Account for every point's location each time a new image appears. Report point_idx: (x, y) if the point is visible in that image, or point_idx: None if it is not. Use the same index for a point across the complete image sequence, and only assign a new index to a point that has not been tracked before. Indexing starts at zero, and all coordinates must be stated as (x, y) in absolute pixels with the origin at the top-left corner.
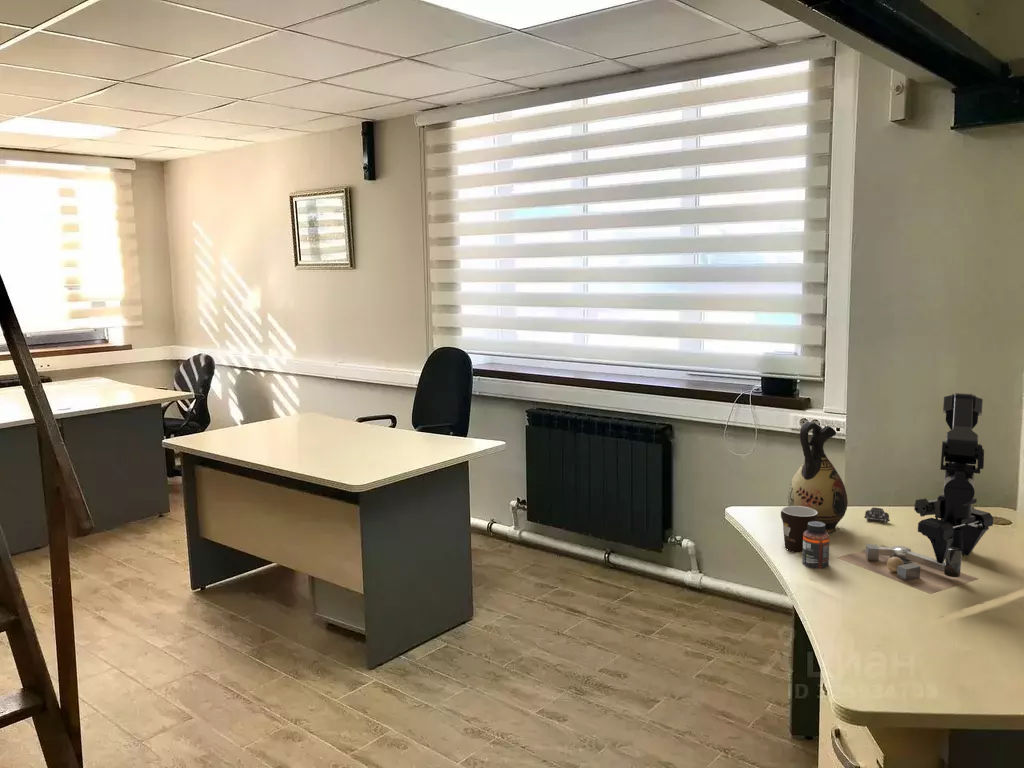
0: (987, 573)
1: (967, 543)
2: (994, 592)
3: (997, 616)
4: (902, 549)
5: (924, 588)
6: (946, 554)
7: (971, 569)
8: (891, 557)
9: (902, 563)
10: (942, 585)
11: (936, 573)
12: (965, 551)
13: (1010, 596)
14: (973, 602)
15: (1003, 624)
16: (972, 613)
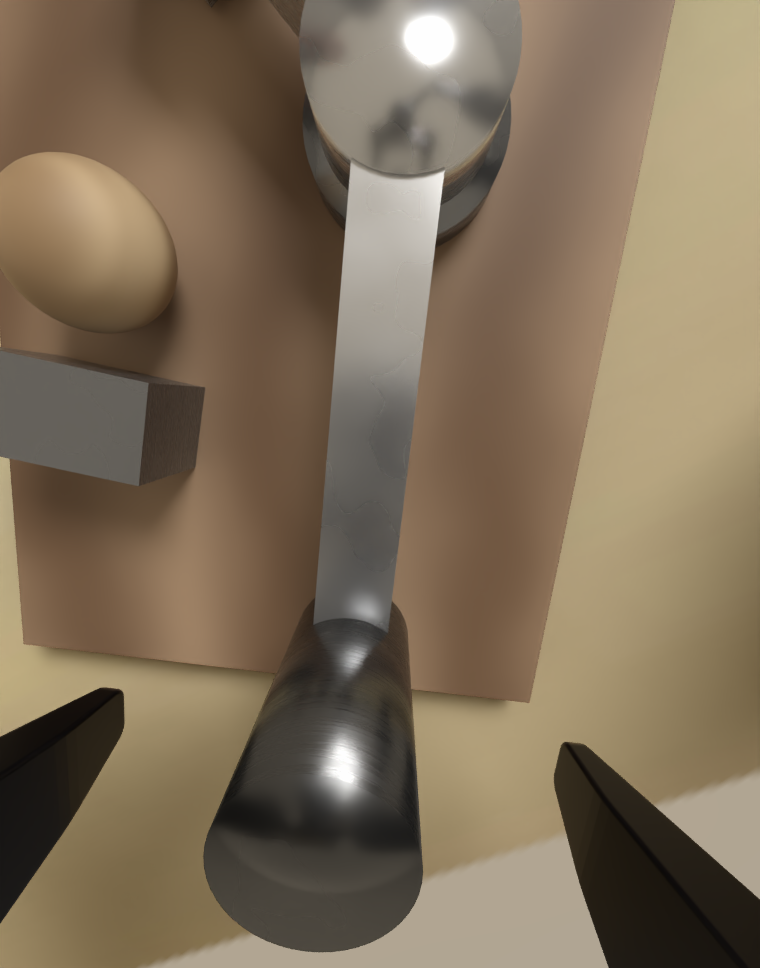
0: (752, 635)
1: (657, 962)
2: (456, 780)
3: (164, 897)
4: (396, 68)
5: (59, 582)
6: (2, 906)
7: (755, 541)
8: (6, 175)
9: (82, 319)
10: (210, 624)
11: None
12: (580, 804)
13: (468, 845)
14: (223, 774)
15: (106, 939)
16: (90, 824)
